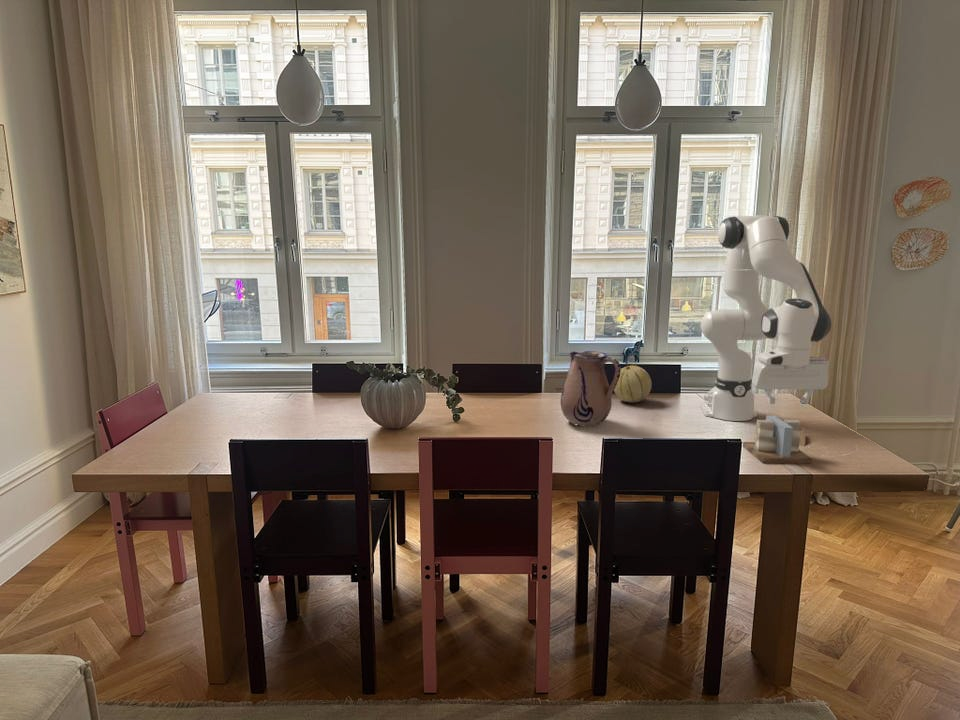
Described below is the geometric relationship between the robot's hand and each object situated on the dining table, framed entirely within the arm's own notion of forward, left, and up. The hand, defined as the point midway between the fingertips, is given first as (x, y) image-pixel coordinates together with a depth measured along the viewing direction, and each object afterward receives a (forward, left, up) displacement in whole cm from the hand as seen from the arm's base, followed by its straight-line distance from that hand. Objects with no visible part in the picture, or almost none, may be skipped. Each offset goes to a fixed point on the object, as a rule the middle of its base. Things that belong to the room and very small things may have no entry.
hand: (787, 403), depth 176 cm
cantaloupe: (-63, -30, -17) cm, 72 cm away
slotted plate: (-4, 0, -16) cm, 16 cm away
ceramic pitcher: (-34, -51, -17) cm, 64 cm away
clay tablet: (-20, +11, -18) cm, 29 cm away
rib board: (-4, 0, -17) cm, 17 cm away
